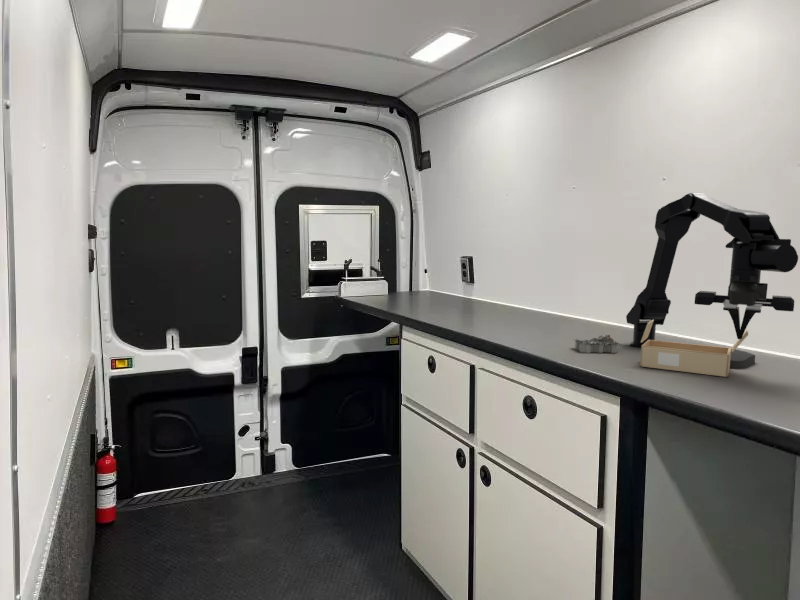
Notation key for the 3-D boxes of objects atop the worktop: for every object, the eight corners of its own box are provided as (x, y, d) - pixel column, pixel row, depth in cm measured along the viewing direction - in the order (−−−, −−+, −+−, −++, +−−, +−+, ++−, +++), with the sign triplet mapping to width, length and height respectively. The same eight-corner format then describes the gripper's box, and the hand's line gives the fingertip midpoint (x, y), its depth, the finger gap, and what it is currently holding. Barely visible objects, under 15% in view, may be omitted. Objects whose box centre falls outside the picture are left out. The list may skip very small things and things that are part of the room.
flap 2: (732, 345, 133) (747, 329, 131) (734, 346, 133) (748, 330, 131) (731, 351, 126) (746, 334, 124) (732, 352, 125) (748, 335, 124)
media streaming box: (758, 363, 143) (759, 351, 143) (741, 371, 133) (742, 359, 133) (696, 354, 154) (697, 342, 153) (675, 361, 143) (676, 349, 143)
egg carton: (610, 349, 158) (611, 334, 158) (620, 354, 151) (621, 339, 150) (572, 348, 158) (572, 333, 158) (580, 353, 151) (581, 338, 150)
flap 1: (641, 342, 135) (648, 323, 134) (640, 342, 135) (647, 323, 134) (647, 337, 142) (654, 319, 141) (646, 337, 142) (652, 319, 141)
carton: (647, 358, 144) (648, 339, 144) (729, 368, 135) (731, 347, 134) (639, 367, 135) (641, 346, 134) (727, 377, 125) (729, 355, 125)
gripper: (695, 268, 125) (689, 339, 126) (798, 273, 115) (791, 349, 116) (699, 266, 134) (694, 332, 136) (796, 271, 124) (788, 341, 126)
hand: (739, 338), depth 128 cm, fingers closed
